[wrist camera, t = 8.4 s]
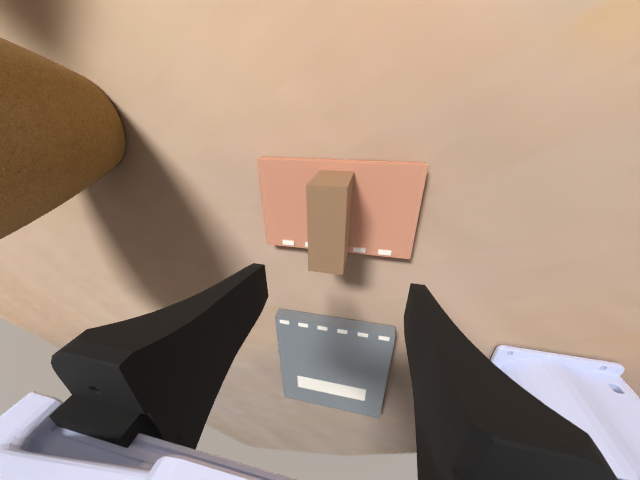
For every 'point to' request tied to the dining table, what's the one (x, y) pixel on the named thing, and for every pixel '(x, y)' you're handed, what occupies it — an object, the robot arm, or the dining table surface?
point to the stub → (341, 207)
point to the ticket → (334, 360)
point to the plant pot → (50, 136)
